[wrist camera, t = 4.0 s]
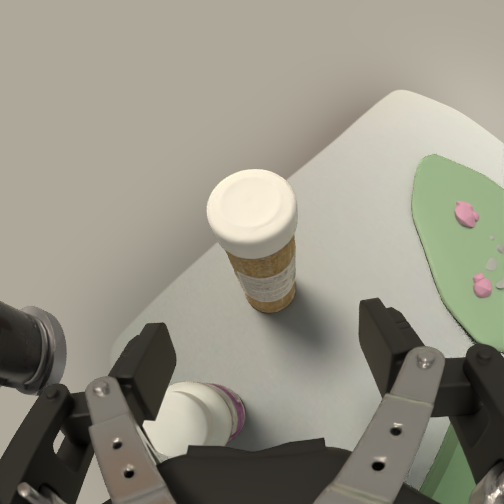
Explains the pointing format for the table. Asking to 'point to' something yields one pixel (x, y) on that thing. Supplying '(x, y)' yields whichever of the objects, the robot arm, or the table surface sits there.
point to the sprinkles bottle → (257, 234)
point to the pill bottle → (195, 418)
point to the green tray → (449, 473)
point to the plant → (463, 243)
